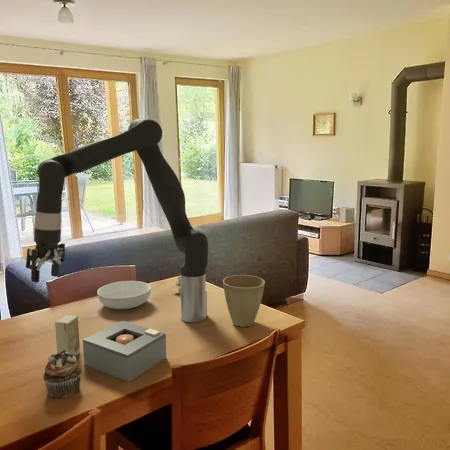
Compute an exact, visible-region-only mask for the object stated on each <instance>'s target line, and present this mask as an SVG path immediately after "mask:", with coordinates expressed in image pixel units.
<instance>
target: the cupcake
mask: <svg viewBox="0 0 450 450" xmlns="http://www.w3.org/2000/svg"><path fill="white" fill-rule="evenodd" d="M47 361H48V362H47V363H46V365H45V367H44V374H43V377H42V379H43V381H44V384H45V388H46V390H47V394H48V396H49V397H51V398H52V399H64V398H65V399H66V398H68V397H71V396H73V395H75V394H76V393H78V391H79V390H80V385H81V377H82V373H83V371H82V367H81V365H80V364H79V362H78V361H77V356H76V357H74V356H73V355H72V354H69V353H68V352H66V350H65V351H62V352H59V353H58V354H57V353H56V354H51V355H50V356H48V357H47Z"/></svg>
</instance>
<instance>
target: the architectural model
mask: <svg viewBox="0 0 450 450" xmlns="http://www.w3.org/2000/svg"><path fill="white" fill-rule="evenodd" d="M177 279H178V282H177V281H176V282H175V283H174V284H171V287H173V288H176V289H178V292H180V293H181V289H180V275H178V276H177Z"/></svg>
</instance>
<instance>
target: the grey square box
mask: <svg viewBox="0 0 450 450" xmlns="http://www.w3.org/2000/svg"><path fill="white" fill-rule="evenodd" d="M124 334H129V335H132V336H133V341H131V342H129V343H128V344H126V345H123V344H120V343H117V342H116V338H117V337H118V336H120V335H124ZM166 335H167V334H166V333H165V332H162V331H159V330H156V329H153V328H148V327H144V326H142V325H138V324H135V323H132V322H128V321H125V320H121V321H118V322H116V323H114V324H112V325H110V326H108V327H106V328H103V329H102V330H100V331H97V332H96V333H95V332H94V333H93V334H91V335H90V336H86V337H85V338H83V339H82V348H83V349H82V351H83V362H84V364H83V365H84V366H87V367H90V368H92V369H95V370H97V371H99V372H102V373H104V374H108V375H111V376H112V377H115V378H117V379H121V380H123V381H125V382H127V383H130V382H132V381H133V380H135V379H136V378H137V377H140V376H141V375H143V373H146V372H147V371H148V370H150V369H152V368H153V367H155V366H156V365H157V364H159V363H161V362H163V361H164V360H166V359H167V342H166V341H167V338H166V337H167V336H166Z"/></svg>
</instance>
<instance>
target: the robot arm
mask: <svg viewBox="0 0 450 450" xmlns="http://www.w3.org/2000/svg"><path fill="white" fill-rule="evenodd" d="M162 138H163V129H162V126H161V125H160V124H159V122H157V121H156V120H154V119H151V118H143V117H142V118H136V119H133V120H132V121H131V122H130V123H129V125H128V127H127V130H125V131H123V132H122V133H121V132H120V133H119V134H116V135H113V136H111V137H107V138H104V139H100V140H97V141H93V142H91V143H88V144H83V145H82V146H79V147H77V148H75V149H73V150H70V151H68V152H67V153H63V154H60V155H57V156H54V157H51V158H48V159H46V160H43V161H42V162H40V163H39V164H38V166H37V170H36V173H37V176H38V194H37V196H36V207H35V208H36V210H35V211H36V212H35V215H34V216H35V217H34V229H33V230H34V231H33V242H35V247H34V248H31V247H28V248H27V250H26V261H25V268H26V269H29V270H31V272H30V273H31V274H30V276H31V278H30V279H31V282H32V283H35V284H36V283H40V274H41V273H40V272H41V270H40V269H41V267H42V265H44V264H45V263H46V261H49V260H50V261H51V263H52V264H51V268H50V269H51V270H50V271H51V272H50V275H51V276H52V277H54V278H55V277H56V278H57V277H59V274H60V265H61V263H63V262H65V260H66V258H65V257H66V254H65V253H66V244H65V243H64V242H61V239H62V238H61V237H62V223H63V220H62V218H63V217H62V207H63V206H62V204H63V199H62V197H63V192H64V186H65V179H66V178H67V177H69V176H71V175H74V174H79V173H83V172H85V171H88V170H91V169H93V168H95V167H98V166H100V165H102V164H104V163H106V162H108V161H111V160H114V159H116V158H118V157H120V156H124V155H126V154H130V153H132V152H136V153H137V154H138V156H139V158H140V160H141V162H142V165H143V166H144V170H145V173H146V175H147V178H148V179H149V182H150V184H151V187H152V189H153V192H154V194H155V196H156V199H157V202H158V203H159V205H160V207H161V209H162V213H163V214H164V216H165V218H166V220H167V222H168V224H169V227H170V230H171V232H172V237H173V239H174V243H175V246H176V247H177V249H178V251H180V252H181V253H183V254H184V263H183V264H182V265H180V268H179V276H180V289H181V292H180V320H182V322H186V323H200V322H203V321H205V319H206V318H207V316H208V292H207V290H206V289H207V288H206V284H207V283H206V282H207V281H206V270H207V267H208V261H209V241H208V238H207V236H206V234H204V233H203V232H201V231H198V230H195V229H194V228H193V226H192V224H191V222H190V221H189V218H188V216H187V215H188V214H187V210H186V197H185V192H184V189H183V187H182V185H181V182H180V179H179V178H178V176H177V174H176V173H175V171H174V169H173V168H172V167H171V165H170V164H169V162H168V161H167V159H165V157H164V156H163V153H162V151H161V149H160V146H159V143H160V142H161V140H162Z"/></svg>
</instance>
